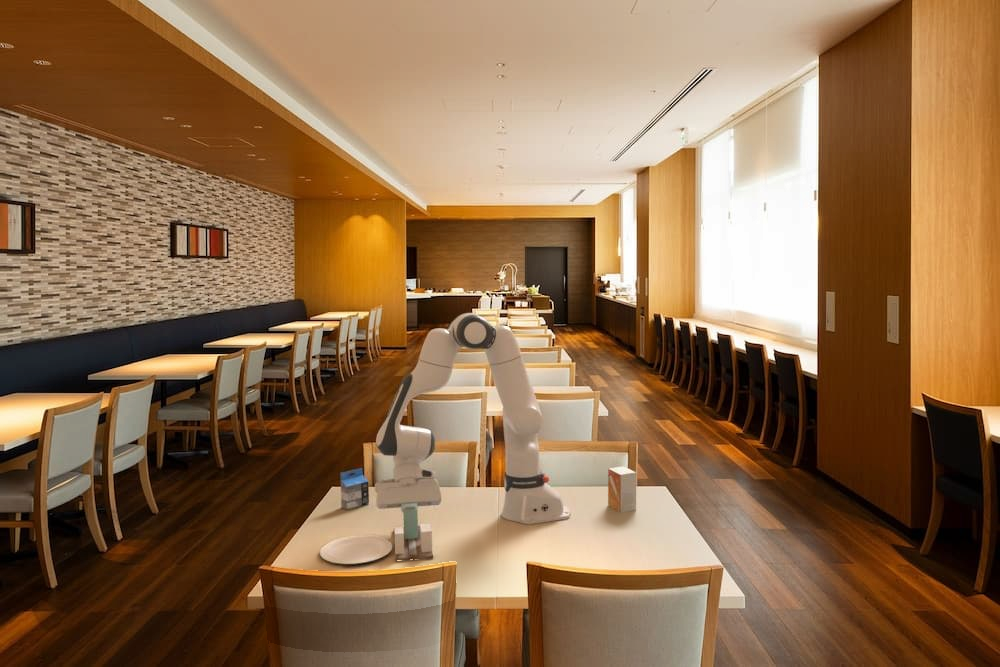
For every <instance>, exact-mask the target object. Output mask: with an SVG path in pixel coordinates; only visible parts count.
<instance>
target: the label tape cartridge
mask: <svg viewBox="0 0 1000 667" xmlns="http://www.w3.org/2000/svg"><path fill="white" fill-rule="evenodd" d="M351 474H352V475H351ZM369 490H370V489H369V481H368V479H367V478H366V476H364V474H363V467H359V468H356V469H352V470H346V471H342V472H340V502H341V503H340V504H341V505H340V506H341V509H344V510H346V511H349V510H352V509H356V507H357V508H359V507H364V506H367V504H368V505H370V494H369V493H370V492H369ZM363 505H364V506H363Z"/></svg>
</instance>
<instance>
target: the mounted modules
mask: <svg viewBox="0 0 1000 667" xmlns="http://www.w3.org/2000/svg"><path fill="white" fill-rule="evenodd" d="M419 526H420V543H421V550H422V552H430V551H432V552H433V533H432V532H433V530H432V527H431V523H421V524H419ZM403 527H404V525H397V526H396V525H394V526H393V533H394V532H395V542H394V554H404V532H403Z"/></svg>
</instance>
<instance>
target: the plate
mask: <svg viewBox="0 0 1000 667" xmlns="http://www.w3.org/2000/svg"><path fill="white" fill-rule="evenodd" d="M392 549H393V544H392V542H391V541H389V540H388V539H386V538H384V537H381V536H377V535H368V534H367V535H365V534H363V535H362V534H361V535H359V534H358V535H350V536H344V537H339V538H337V539H335V540H331V541H330V542H328V543H326V544H324V546H322V547H321V548H320V550H319V556H320V558H321V559H322V560H325V561H327V562H328V563H332V564H335V565H345V566H346V565H352V566H355V565H361V564H363V565H364V564H367V563H373V562H375V561H378V560H381V559H383V558H384V557H386V556H387V555H389V554H390V553H391V552H392Z"/></svg>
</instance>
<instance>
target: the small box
mask: <svg viewBox="0 0 1000 667" xmlns="http://www.w3.org/2000/svg"><path fill="white" fill-rule="evenodd" d="M607 478H608V480H607V481H608V482H607V483H608V484H607V485H608V486H607V488H608V489H607V493H608V494H607V506H609V507H611V508H612V509H614V510H616V511H617V512H619V513H625V512H631V511H636V510H637V471H634V470H632V469H630V468H627V467H625V466H624V465H623V466H617V467H610V468H608V473H607Z"/></svg>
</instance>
